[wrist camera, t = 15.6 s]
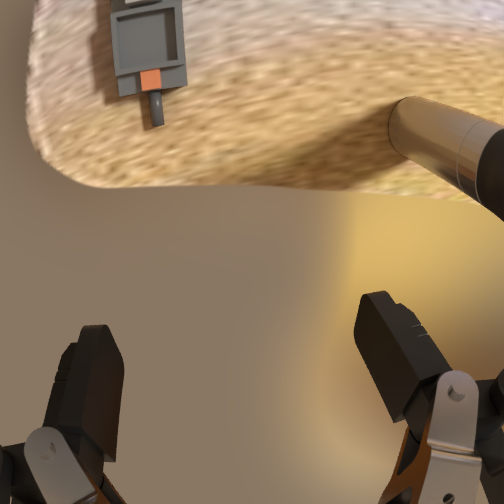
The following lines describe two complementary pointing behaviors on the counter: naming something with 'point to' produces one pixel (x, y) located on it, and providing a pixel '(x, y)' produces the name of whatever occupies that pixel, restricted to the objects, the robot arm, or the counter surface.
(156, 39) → the power strip
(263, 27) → the counter surface
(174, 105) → the counter surface
